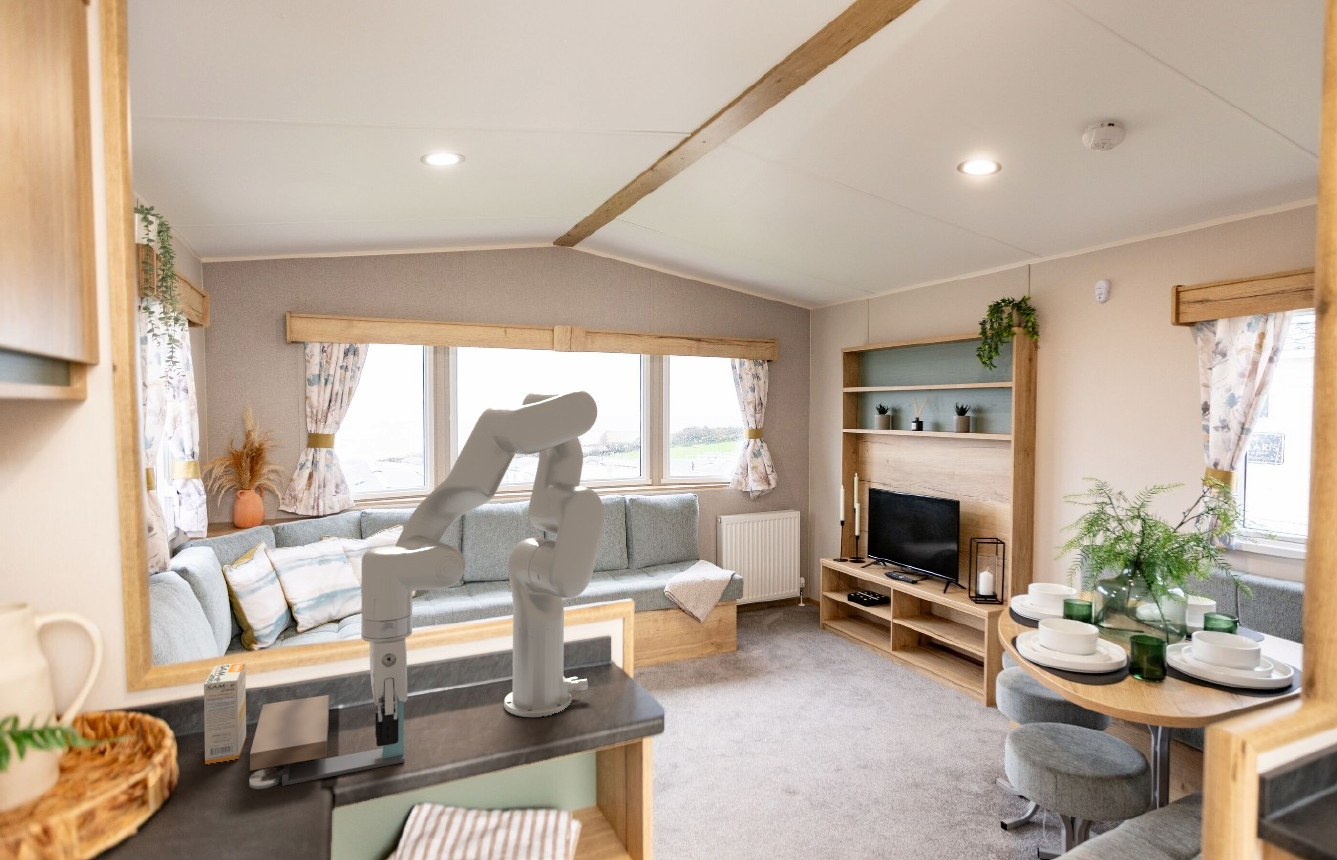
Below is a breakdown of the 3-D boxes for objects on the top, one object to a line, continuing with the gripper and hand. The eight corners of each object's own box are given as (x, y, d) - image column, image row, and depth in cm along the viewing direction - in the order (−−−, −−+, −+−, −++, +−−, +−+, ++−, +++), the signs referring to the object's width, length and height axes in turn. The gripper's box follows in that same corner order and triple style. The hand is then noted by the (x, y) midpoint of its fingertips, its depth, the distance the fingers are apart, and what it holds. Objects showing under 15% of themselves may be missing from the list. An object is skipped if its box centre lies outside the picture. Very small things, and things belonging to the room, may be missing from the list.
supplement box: (213, 743, 117) (212, 665, 117) (246, 738, 119) (246, 661, 119) (203, 766, 110) (202, 683, 109) (238, 760, 111) (238, 679, 111)
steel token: (283, 771, 108) (283, 765, 108) (283, 785, 105) (282, 778, 105) (250, 778, 106) (250, 771, 106) (248, 792, 102) (248, 785, 102)
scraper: (401, 748, 116) (401, 690, 115) (404, 762, 111) (404, 702, 111) (284, 770, 109) (283, 708, 108) (282, 786, 104) (281, 722, 104)
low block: (328, 727, 123) (328, 695, 123) (326, 778, 107) (326, 740, 106) (263, 737, 119) (262, 704, 119) (250, 792, 102) (249, 753, 102)
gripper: (417, 638, 106) (416, 758, 107) (407, 610, 121) (407, 716, 121) (363, 644, 103) (362, 768, 104) (359, 615, 117) (359, 723, 118)
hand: (386, 739), depth 112 cm, fingers closed on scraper
